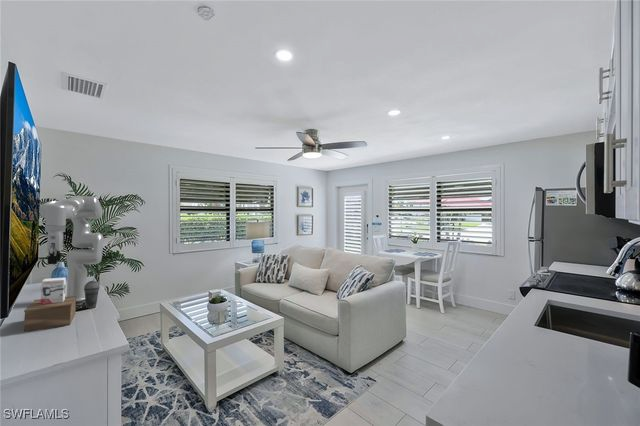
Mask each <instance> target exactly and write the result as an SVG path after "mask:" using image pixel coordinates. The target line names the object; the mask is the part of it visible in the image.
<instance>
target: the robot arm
mask: <svg viewBox="0 0 640 426" xmlns="http://www.w3.org/2000/svg"><path fill="white" fill-rule="evenodd" d="M38 213H39V216H40V217H42V218H44V219H45V226H44V228H45V229H44V230H45V231H44V232H45V233H47V241H46V242H47V244H46V250H47V252H48V253H47V265H56V264H57V262H59V261H61V251H62V250H64V233H66V229H67V226H66V224H67V219H70V220H71V222H72V225H73V228H72V229H73V230H72V238H71V245H72V247H74V248H79V249H72V250H70V251H68V252H67V253H66V263H67V277H66V297H68V296H77V297H76V303H77V302H81V301H85V291H84V287H85V285H86V283H88V270H87V268H86V266H84V265H97V264H98V265H99V263H101V262H102V260H103V259H102V258H103V249H104V241H105V240H104V236H103V234H102V233H101V232H100V233H99V232H91V228H92V225H91V224H90V222H89V221H88V220H90V219H91V220H92V219H93V220H98V219H101V218H102V217H103V215H104V211H103V207H102V205H101V203H100V201H99V199H98V198H97V197H96V196H90V195H89V196H86V195H74V196H71V197H69V198H67V199H60V200H52V201H47V202H45V203H43V204H42V205H41V206H40V207H39V211H38ZM86 219H88V220H86ZM80 248H85V249H80ZM87 248H88V249H87ZM89 248H90V249H89ZM91 248H93V249H91Z"/></svg>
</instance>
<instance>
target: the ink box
mask: <svg viewBox="0 0 640 426" xmlns="http://www.w3.org/2000/svg"><path fill="white" fill-rule="evenodd" d="M66 286H67V277H54V278H52V277H51V278H44V279H43V280H41V287H40V288H41V289H40V290H41V291H40V299H41V304H50V303H60V302H63V301H64V300H65V297H66Z"/></svg>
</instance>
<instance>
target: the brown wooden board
mask: <svg viewBox="0 0 640 426" xmlns="http://www.w3.org/2000/svg"><path fill="white" fill-rule="evenodd" d="M76 297H77V296H68V297H67V296H65V300H64V301H63V302H60V303H50V304H41V298H40V299H34V300H33V301H32V302H31V303H30V304H29V305H28V306H27V307H26V308H25V309H24V311H23V313H25V312H32V311H40V310H49V309H57V308H66V307H71V306H72V304H73V303H74V301H75V299H76Z"/></svg>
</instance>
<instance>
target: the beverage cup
mask: <svg viewBox="0 0 640 426" xmlns="http://www.w3.org/2000/svg"><path fill="white" fill-rule="evenodd" d="M95 279H96V273H94V275H93V280H90V281H87V283H86V285H85V287H84V291H85V300H84V302H85V309H87V308H90V309H94V307H95V308H96V307H97V302H98V297H99V291H100V283H99V282H98V281H96V280H95Z"/></svg>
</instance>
